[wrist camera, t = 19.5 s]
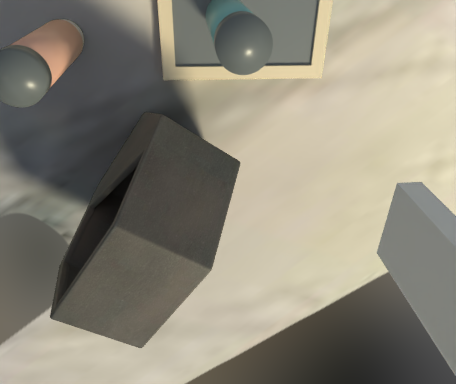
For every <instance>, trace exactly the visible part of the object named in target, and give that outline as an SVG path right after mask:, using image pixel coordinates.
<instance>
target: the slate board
mask: <svg viewBox="0 0 456 384" xmlns="http://www.w3.org/2000/svg"><path fill="white" fill-rule="evenodd" d="M211 1H212V0H157V2H158V15H159V29H160V43H161V56H162V70H163V80H219V79H286V78H322V72H323V65H324V58H325V52H326V45H327V38H328V31H329V24H330V17H331V10H332V3H333V0H240V1H241V2H242V3H243V4H244V5H245V6H246V7H247V8H248V9H249V10H250V11H251V12H252V13H253V14H255V15H256V16H258V17H259V18H260V19H261V20H262V21H263V22H264V23H265V24H266V25H267V26H268V28H269V30H270V32H271V34H272V39H273V49H272V53H271V56H270V58H269V60H268V62H267V63H266V64H265V65H264V66H263V67H262V68H261V69H260V70H258V71H257V72H255V73H252V74H249V75H237V74H234V73H231V72H229V71H228V70H226V69H225V68H224V67H223V66H222V64H221V63H220V61H219V59H218V57H217V54H216V51H215V48H214V43H213V40H212V37H211V34H210V31H209V28H208V26H207V23H206V10H207V7H208V5H209V3H210V2H211Z"/></svg>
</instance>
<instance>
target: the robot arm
mask: <svg viewBox="0 0 456 384" xmlns="http://www.w3.org/2000/svg"><path fill="white" fill-rule="evenodd" d="M377 254H378V255H379V257H380V259H381V260H382V262H383V263H384V265H385V266H386V268H387V270H388V271H389V273H390V274H391V276H392V277H393V279H394V280H395V282H396V284H397V285H398V287H399V288H400V290H401V291H402V293H403V295H404V296H405V298H406V299H407V301H408V302H409V304H410V306H411V307H412V308H413V310H414V312H415V313H416V315H417V316H418V318H419V320H420V321H421V323H422V324H423V326H424V327H425V329H426V331H427V332H428V334H429V335H430V337H431V338H432V340H433V341H434V343H435V344H436V346H437V348H438V349H439V351H440V352H441V354H442V356H443V357H444V358H445V360H446V362H447V363H448V365H449V366H450V368H451V370H452V371H453V373H454V374H455V376H456V216H455V215H454V214H453V213H452V212H451V211H450V210H449V209H448V208H447V207H446V206H445V205H444V204H443V203H442V202H441V201H440V200H439V199H438V198H437V197H436V196H435V195H434V194H433V193H432V192H431V191H430V190H429V189H428V188H427V187H426V186H425V185H424V184H423V183H422V182H411V183H397V185H396V189H395V192H394V196H393V199H392V202H391V206H390V209H389V213H388V216H387V220H386V223H385V227H384V230H383V233H382V237H381V240H380V244H379V247H378V251H377Z"/></svg>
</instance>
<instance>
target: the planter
mask: <svg viewBox="0 0 456 384" xmlns="http://www.w3.org/2000/svg"><path fill="white" fill-rule="evenodd" d="M239 167H240V161H238V160H237V159H235V158H233V157H232V156H230V155H228V154H227V153H225V152H223V151H222V150H220V149H218V148H217V147H215V146H213V145H212V144H210V143H209V142H207V141H205V140H204V139H202V138H200V137H199V136H197V135H195V134H194V133H192V132H190V131H189V130H187V129H185V128H184V127H182V126H181V125H179V124H177V123H176V122H174V121H172V120H171V119H169V118H167V117H166V116H164V115H162V114H155V113H148V112H145V113H144V114H143V115H142V117H141V118H140V120H139V121H138V123H137V125H136V126H135V128H134V129H133V131H132V132H131V134H130V136H129V137H128V139H127V140H126V142H125V144H124V145H123V147H122V148H121V150H120V151H119V153H118V155H117V156H116V158H115V159H114V161H113V162H112V164H111V166H110V167H109V169H108V170H107V172H106V174H105V175H104V177H103V178H102V180H101V181H100V183H99V185H98V187H97V189H96V191H95V193H94V195H93V197H92V199H91V201H90V203H89V205H88V208H87V210H86V212H85V214H84V216H83V218H82V220H81V222H80V224H79V226H78V228H77V231H76V233H75V235H74V237H73V239H72V241H71V243H70V245H69V247H68V250H67V251H66V254H65V256H64V258H63V260H62V262H61V264H60V267H59V272H58V277H57V283H56V288H55V293H54V299H53V304H52V309H51V315H50V318H51V319H53V320H57V321H60V322H63V323H66V324H69V325H72V326H75V327H78V328H81V329H84V330H87V331H90V332H93V333H96V334H99V335H102V336H105V337H108V338H111V339H114V340H117V341H120V342H123V343H126V344H129V345H132V346H135V347H138V348H142V347H143V346H144V345H145V344H146V343H147V342H148V341H149V340H150V339H151V337H152V336H153V335H154V334H155V333H156V332H157V331H158V330H159V328H160V327H161V326H162V325H163V324H164V323H165V322H166V321H167V319H168V318H169V317H170V316H171V315H172V314H173V313H174V312H175V310H176V309H177V308H178V307H179V306H180V305H181V304H182V303H183V301H184V300H185V299H186V298H187V297H188V296H189V295H190V294H191V292H192V291H193V290H194V289H195V288H196V287H197V286H198V285H199V283H200V282H201V281H202V280H203V279H204V278H205V277H206V276H207V275H208V273H209V272H210V271H211V269H212V266H213V263H214V259H215V255H216V252H217V248H218V244H219V241H220V237H221V233H222V230H223V226H224V222H225V218H226V215H227V211H228V207H229V204H230V200H231V196H232V193H233V189H234V185H235V182H236V178H237V174H238V171H239Z"/></svg>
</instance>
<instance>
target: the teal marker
mask: <svg viewBox="0 0 456 384" xmlns="http://www.w3.org/2000/svg"><path fill="white" fill-rule="evenodd" d="M206 23H207V26H208V28H209V31H210V34H211V37H212V40H213V43H214V48H215V51H216V54H217V57H218V59H219V61H220V63H221V64H222V66H223V67H224V68H225V69H226V70H228V71H229V72H231V73H234V74H237V75H249V74H252V73H255V72H257V71H258V70H260V69H261V68H262V67H263V66H264V65H265V64H266V63H267V62H268V60H269V58H270V56H271V53H272V49H273V39H272V34H271V32H270V30H269V28H268V26H267V25H266V24H265V23H264V22H263V21H262V20H261V19H260V18H259V17H258V16H256V15H255V14H253V13H252V12H251V11H250V10H249V9H248V8H247V7H246V6H245V5H244V4H243V3H242V2H241V1H240V0H212V1H211V2H210V3H209V5H208V7H207V10H206Z"/></svg>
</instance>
